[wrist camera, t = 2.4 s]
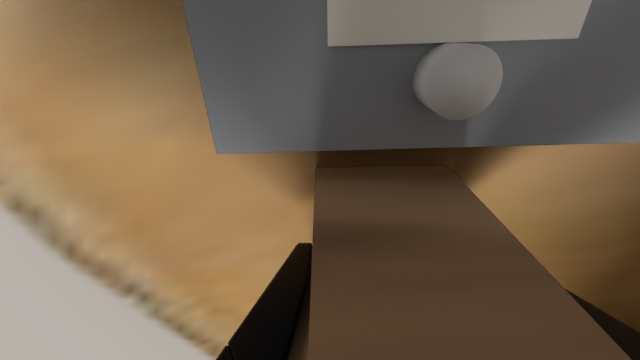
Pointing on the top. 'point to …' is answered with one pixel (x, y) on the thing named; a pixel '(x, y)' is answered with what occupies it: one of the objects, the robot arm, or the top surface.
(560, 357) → the block
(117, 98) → the top surface
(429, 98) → the base plate
